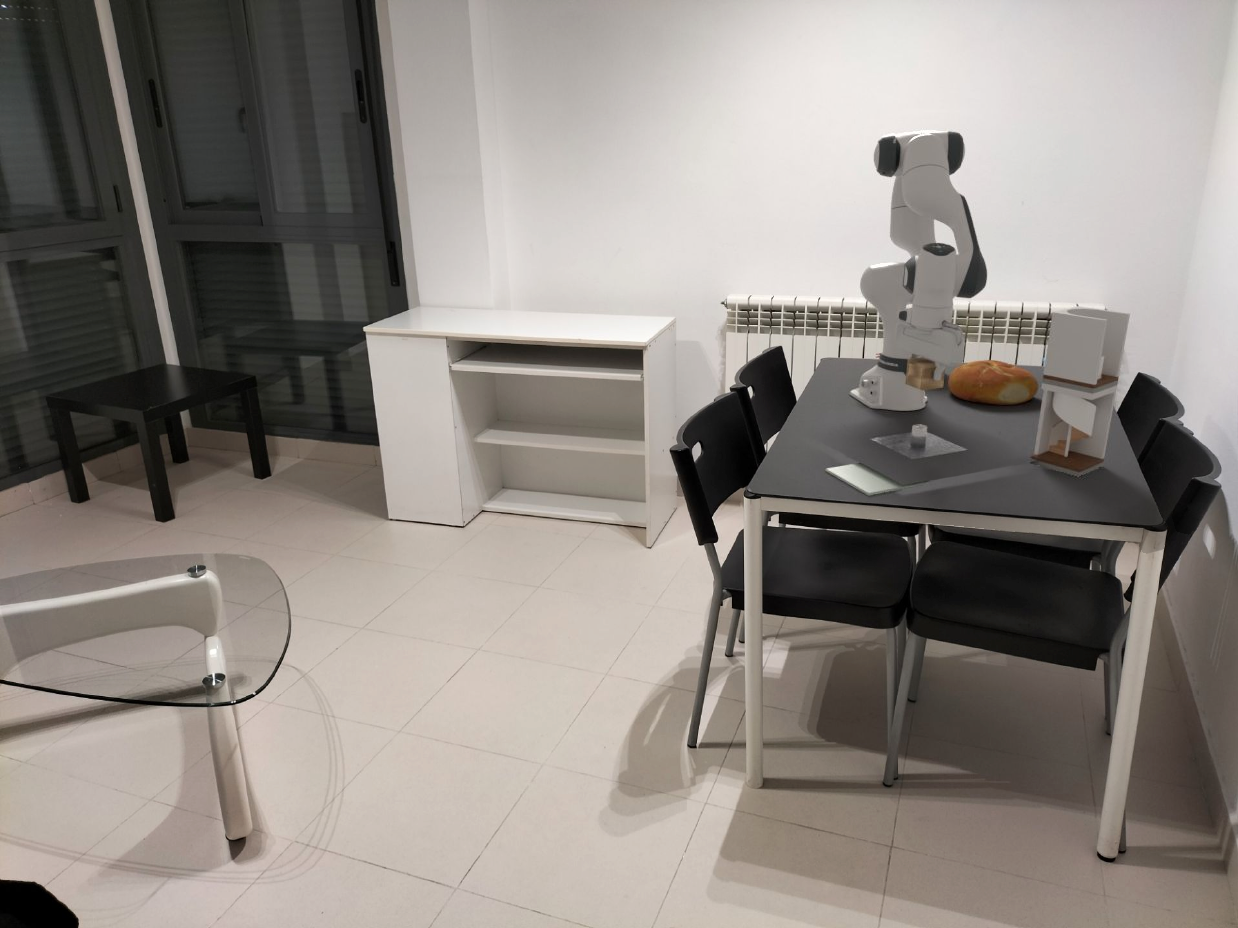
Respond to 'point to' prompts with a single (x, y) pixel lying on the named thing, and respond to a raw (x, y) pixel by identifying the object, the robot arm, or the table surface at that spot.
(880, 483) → the sage mat
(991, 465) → the table surface
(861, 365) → the table surface
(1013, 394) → the bread
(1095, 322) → the white tall layered tower
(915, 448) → the post mount
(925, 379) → the oak block
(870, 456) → the table surface
